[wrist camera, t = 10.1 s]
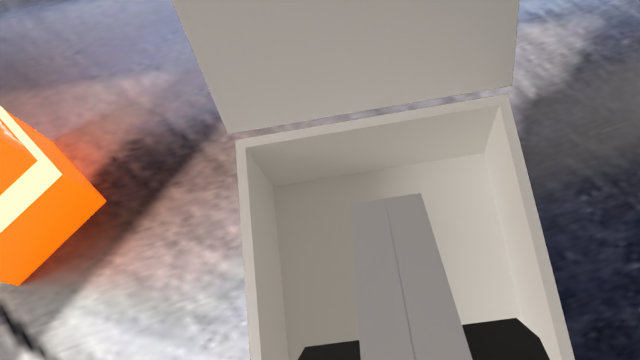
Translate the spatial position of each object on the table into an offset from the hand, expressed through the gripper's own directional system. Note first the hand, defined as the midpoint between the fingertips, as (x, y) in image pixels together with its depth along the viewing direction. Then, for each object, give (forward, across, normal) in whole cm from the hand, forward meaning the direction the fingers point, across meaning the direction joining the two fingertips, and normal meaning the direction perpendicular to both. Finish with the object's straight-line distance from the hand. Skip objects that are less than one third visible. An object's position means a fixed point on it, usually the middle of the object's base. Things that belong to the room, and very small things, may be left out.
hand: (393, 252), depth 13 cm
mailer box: (+20, 0, -17) cm, 26 cm away
